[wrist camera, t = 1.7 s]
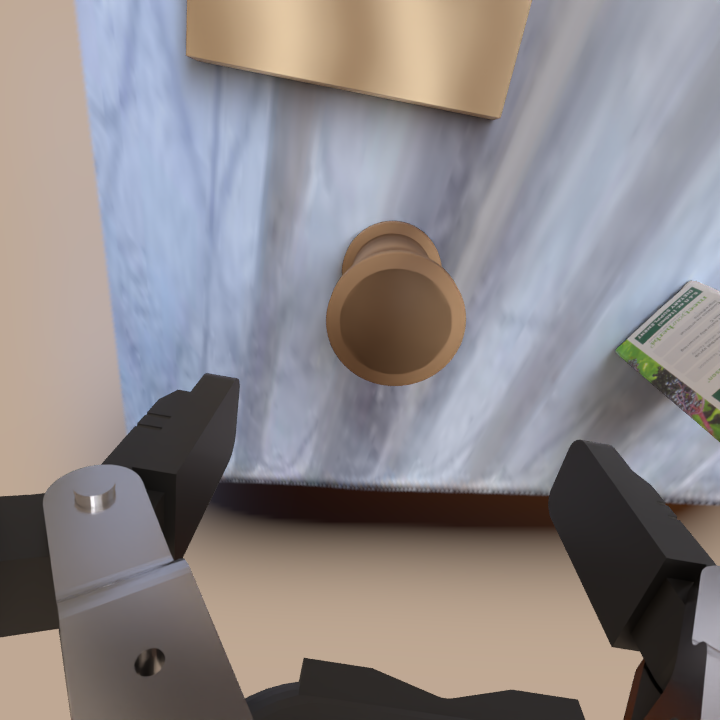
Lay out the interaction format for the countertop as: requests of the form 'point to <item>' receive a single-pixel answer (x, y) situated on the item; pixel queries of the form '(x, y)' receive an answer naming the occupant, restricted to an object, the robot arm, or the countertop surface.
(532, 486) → the countertop surface
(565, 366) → the countertop surface
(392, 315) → the wooden bobbin
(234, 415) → the robot arm
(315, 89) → the countertop surface
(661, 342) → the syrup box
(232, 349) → the countertop surface
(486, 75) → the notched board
